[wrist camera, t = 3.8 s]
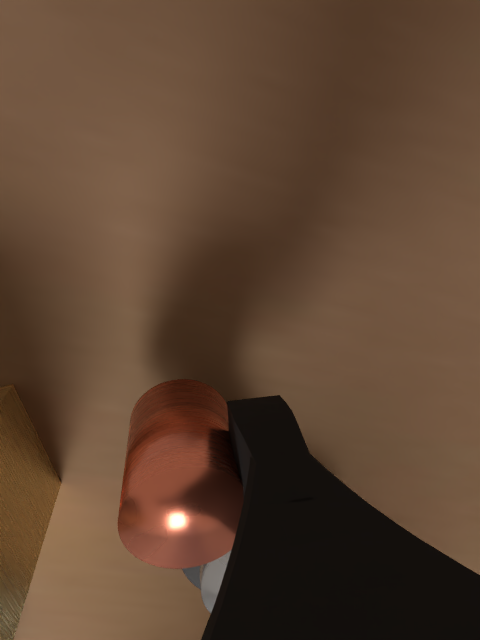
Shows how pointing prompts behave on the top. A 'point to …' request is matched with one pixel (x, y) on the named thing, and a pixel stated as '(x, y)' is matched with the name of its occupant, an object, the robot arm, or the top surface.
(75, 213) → the top surface
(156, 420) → the crank
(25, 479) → the block
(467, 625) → the robot arm
